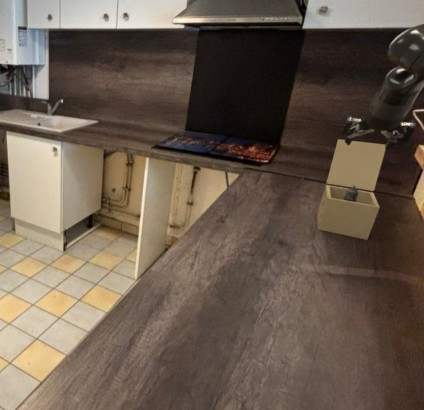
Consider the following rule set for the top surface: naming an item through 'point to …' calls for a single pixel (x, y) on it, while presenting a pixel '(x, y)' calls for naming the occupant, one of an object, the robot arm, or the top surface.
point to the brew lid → (356, 164)
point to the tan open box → (347, 213)
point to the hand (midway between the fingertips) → (367, 144)
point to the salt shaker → (351, 194)
